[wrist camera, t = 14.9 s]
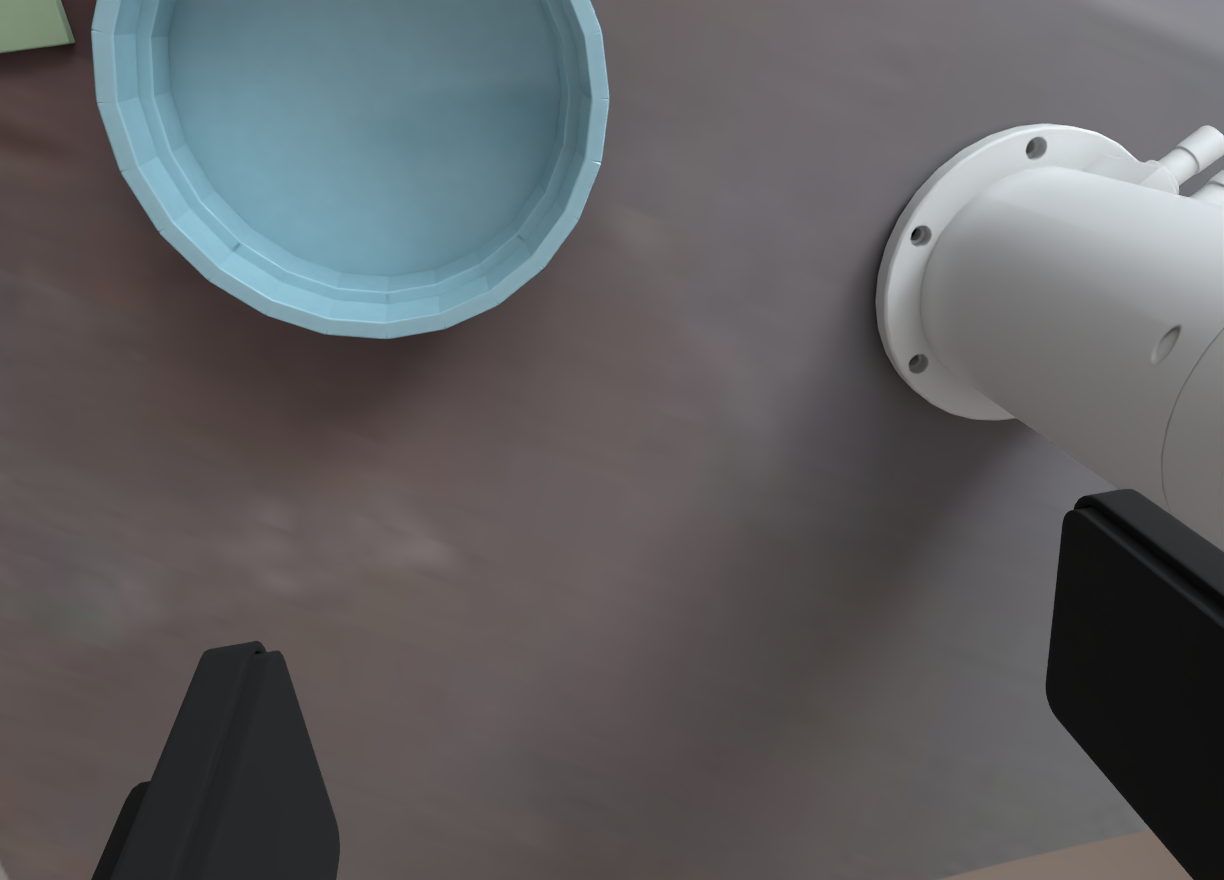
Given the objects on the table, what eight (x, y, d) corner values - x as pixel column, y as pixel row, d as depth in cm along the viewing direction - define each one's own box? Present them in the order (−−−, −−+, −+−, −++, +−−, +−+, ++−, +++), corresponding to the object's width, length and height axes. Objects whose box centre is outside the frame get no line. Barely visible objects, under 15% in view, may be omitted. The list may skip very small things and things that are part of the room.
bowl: (385, -278, 29) (377, -330, 25) (666, 127, 36) (699, 143, 31) (38, 45, 31) (-29, 51, 27) (363, 374, 38) (353, 423, 33)
